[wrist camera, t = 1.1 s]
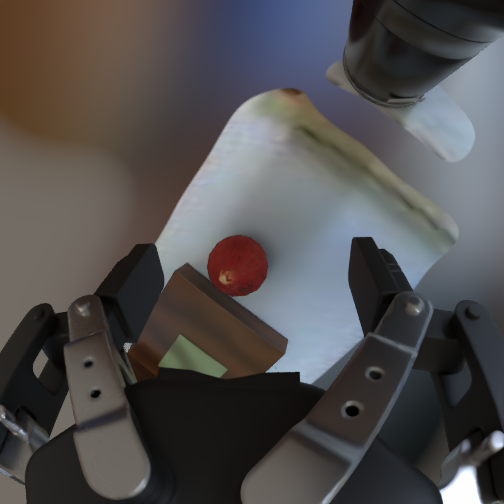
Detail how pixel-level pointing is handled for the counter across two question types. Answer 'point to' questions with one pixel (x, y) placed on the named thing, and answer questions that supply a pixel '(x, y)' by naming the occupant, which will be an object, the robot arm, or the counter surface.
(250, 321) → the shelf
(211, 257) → the red pomegranate
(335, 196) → the counter surface
